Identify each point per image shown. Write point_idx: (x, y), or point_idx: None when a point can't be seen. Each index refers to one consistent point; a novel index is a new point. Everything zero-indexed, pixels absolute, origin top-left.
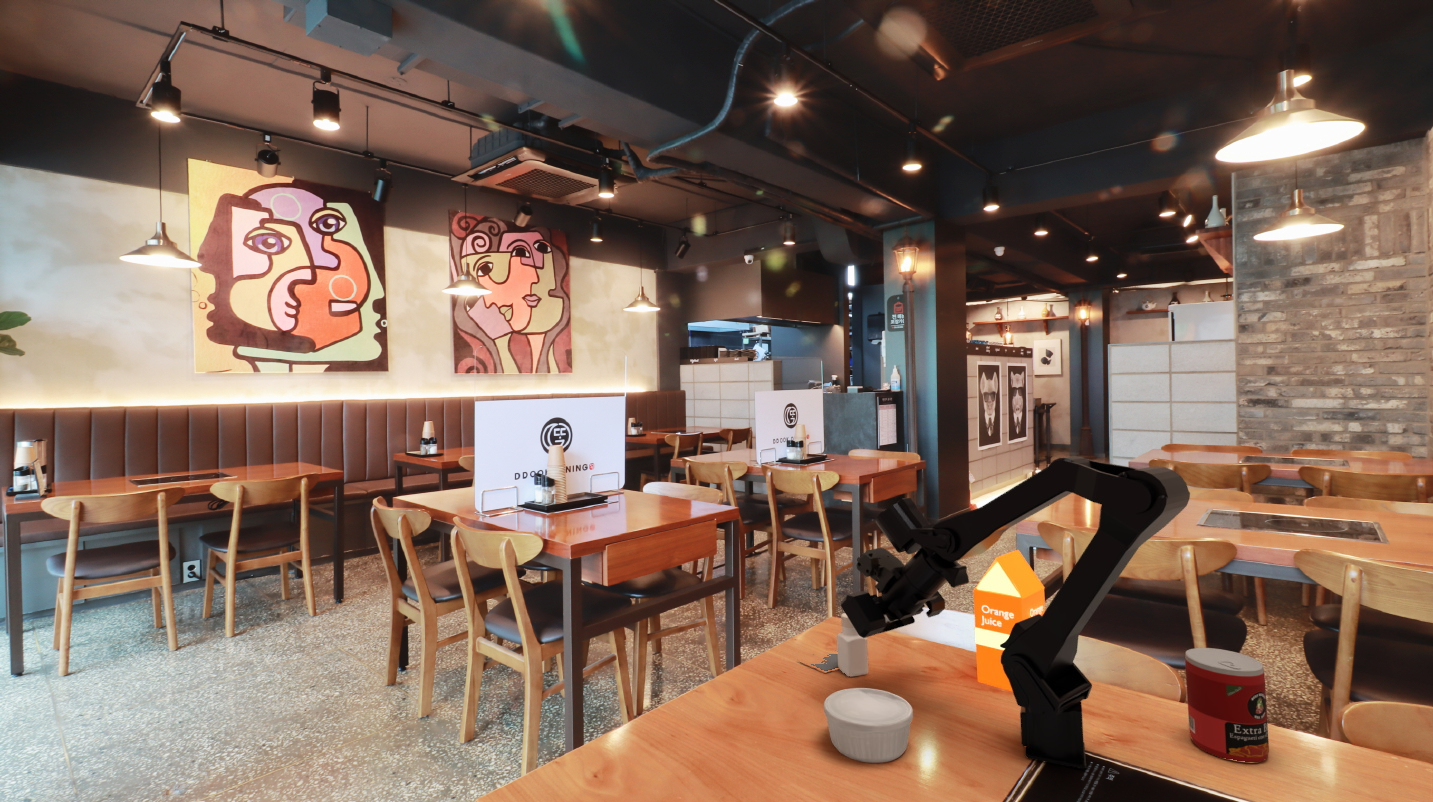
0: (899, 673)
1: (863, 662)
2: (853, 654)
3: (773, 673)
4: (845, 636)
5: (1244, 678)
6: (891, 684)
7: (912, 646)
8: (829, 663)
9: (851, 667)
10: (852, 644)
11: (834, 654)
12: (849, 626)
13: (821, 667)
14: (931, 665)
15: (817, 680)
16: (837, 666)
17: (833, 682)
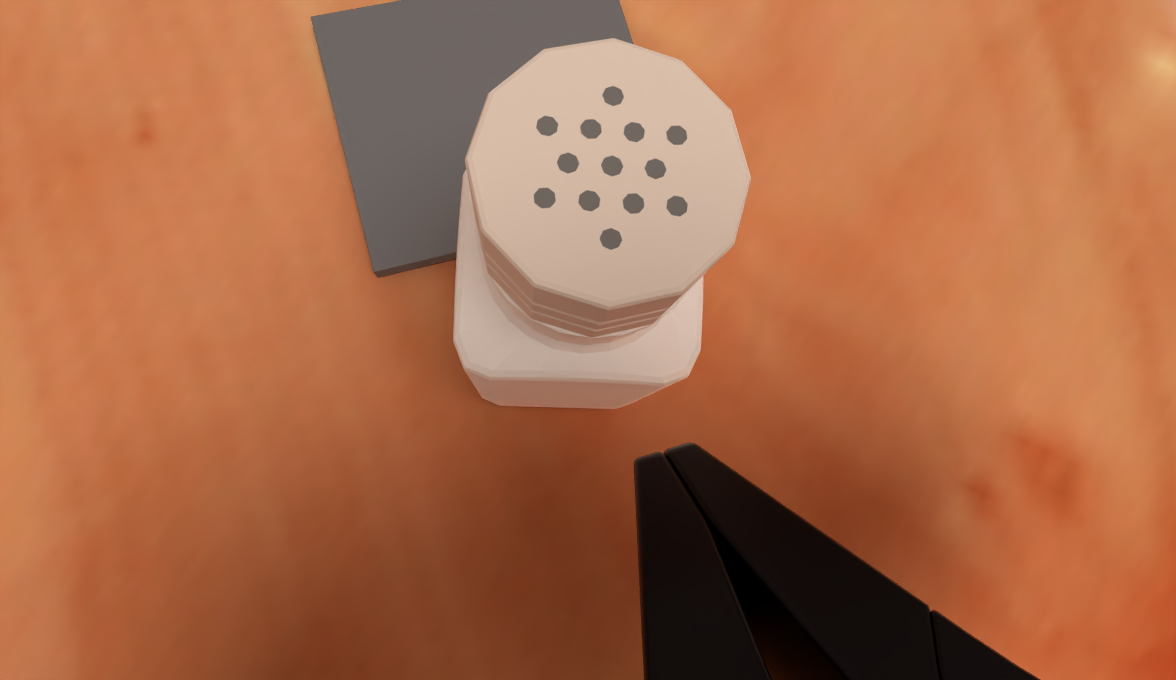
0: (823, 463)
1: (604, 402)
2: (520, 393)
3: (61, 123)
4: (480, 293)
5: None
6: None
7: (1110, 128)
8: None
9: (499, 401)
10: (513, 385)
11: None
12: (516, 297)
13: (381, 210)
14: (1068, 432)
15: (270, 347)
16: None
17: (350, 419)
